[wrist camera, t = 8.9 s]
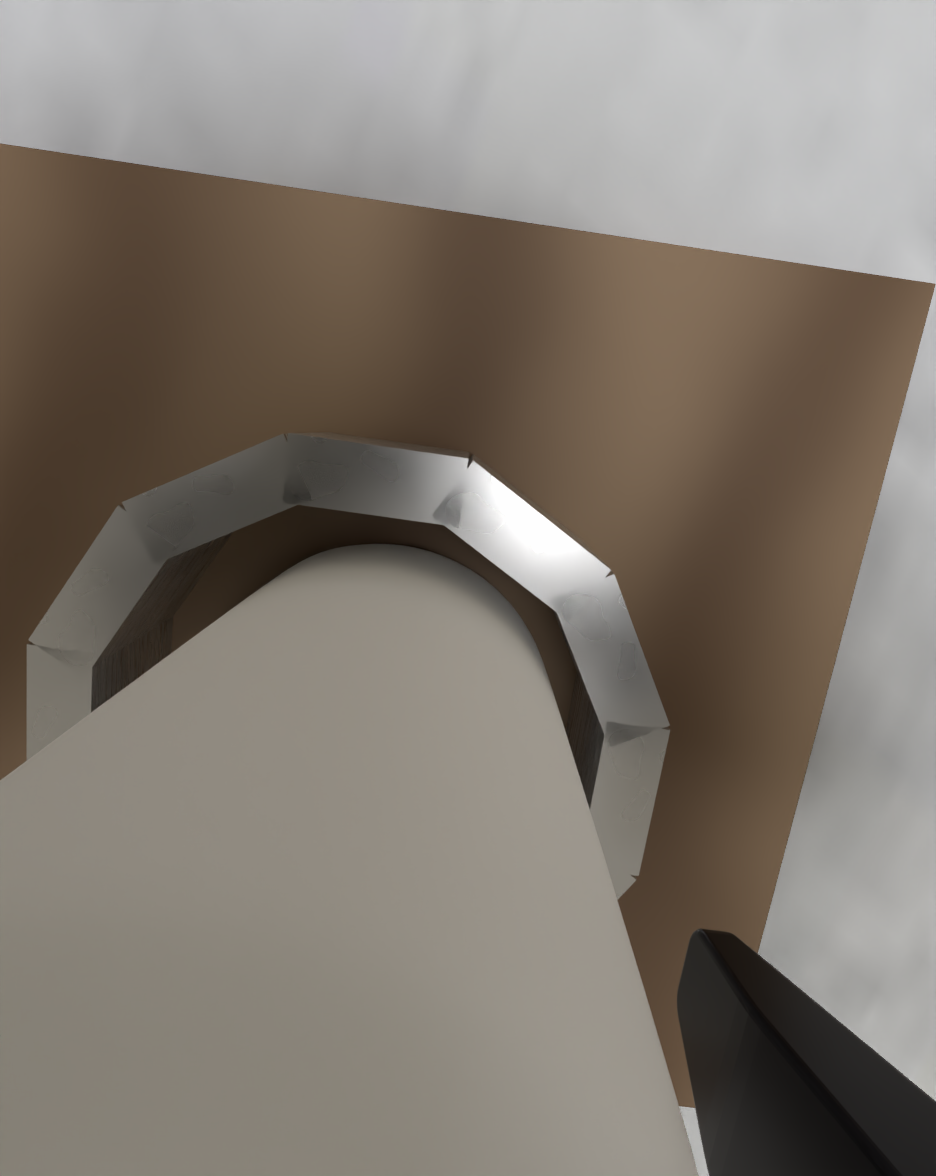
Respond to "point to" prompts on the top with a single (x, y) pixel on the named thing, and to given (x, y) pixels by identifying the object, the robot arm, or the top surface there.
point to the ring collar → (375, 487)
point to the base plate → (477, 450)
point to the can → (325, 907)
